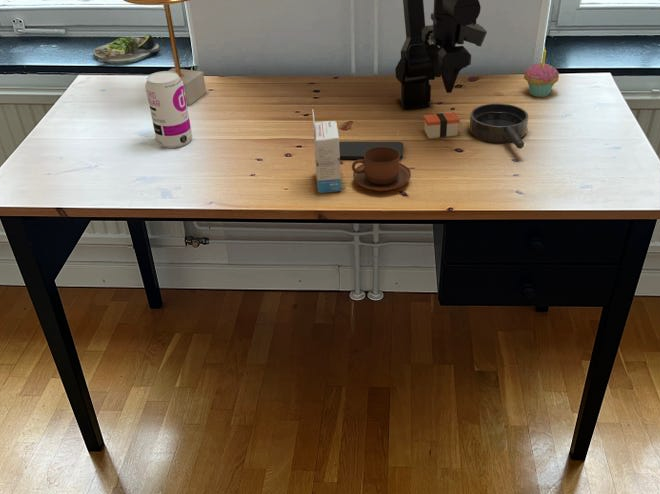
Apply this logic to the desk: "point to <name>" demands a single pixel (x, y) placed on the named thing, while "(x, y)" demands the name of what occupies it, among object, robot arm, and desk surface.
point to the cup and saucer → (381, 170)
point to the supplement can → (168, 109)
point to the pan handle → (514, 137)
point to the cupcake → (541, 78)
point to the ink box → (327, 156)
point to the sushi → (441, 125)
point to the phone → (365, 148)
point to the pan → (497, 122)
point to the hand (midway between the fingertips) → (443, 84)
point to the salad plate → (127, 50)
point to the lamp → (190, 78)
